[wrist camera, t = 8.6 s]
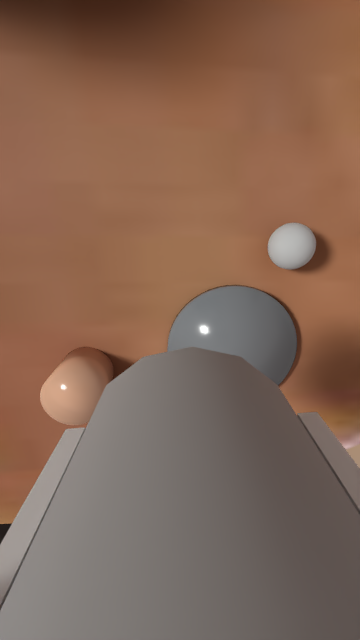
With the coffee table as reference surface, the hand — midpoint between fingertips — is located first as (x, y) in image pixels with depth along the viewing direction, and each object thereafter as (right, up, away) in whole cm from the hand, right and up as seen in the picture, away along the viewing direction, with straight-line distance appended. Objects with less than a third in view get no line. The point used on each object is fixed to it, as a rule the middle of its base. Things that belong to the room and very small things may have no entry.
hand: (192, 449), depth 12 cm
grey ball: (+8, +12, +13) cm, 20 cm away
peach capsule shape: (-9, 0, +17) cm, 20 cm away
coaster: (+4, +3, +16) cm, 17 cm away
